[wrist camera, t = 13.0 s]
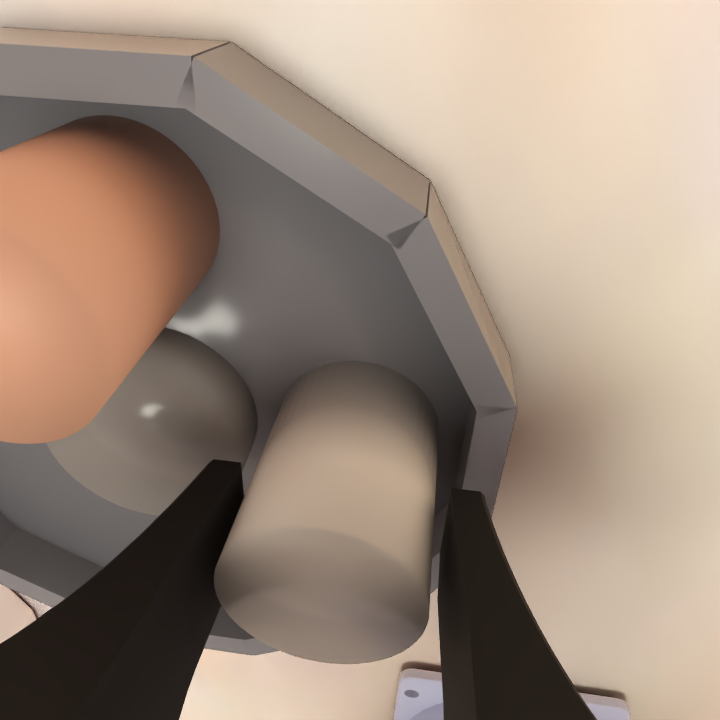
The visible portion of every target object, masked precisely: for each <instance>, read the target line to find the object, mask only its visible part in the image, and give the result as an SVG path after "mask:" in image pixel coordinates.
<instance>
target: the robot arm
mask: <svg viewBox="0 0 720 720" xmlns="http://www.w3.org/2000/svg"><path fill="white" fill-rule="evenodd" d="M243 499H244V490H243V479H242V468H241V462H233V461H225V460H217V459H213V460H212V461H210V462H209V463H208V464H207V465H206V466H205V468H204V469H203V470H202V471H201V472H200V473H199V474H198V475H197V476H196V478H195V479H194V480H193V481H192V482H191V483H190V484H189V485H188V486H187V487H186V488H185V490H184V491H183V492H182V493H181V494H180V495H179V496H178V497H177V498H176V499H175V500H174V501H173V502H172V503H171V504H170V505H169V506H168V507H167V508H166V509H165V510H164V511H163V512H162V513H161V514H160V515H159V516H158V517H157V518H156V519H155V520H154V521H153V522H152V523H151V524H150V525H149V526H148V527H147V528H146V529H145V530H144V531H143V532H142V533H141V534H140V535H139V536H138V537H137V538H136V539H135V540H134V541H133V542H131V543H130V544H129V545H128V546H127V547H126V548H125V549H124V550H123V551H122V552H120V553H119V554H118V555H117V556H116V557H115V558H114V559H113V560H112V561H111V562H109V563H108V564H107V565H106V566H105V567H104V568H102V569H101V570H100V571H99V572H98V573H96V574H95V575H94V576H93V577H92V578H90V579H89V580H88V581H87V582H86V583H84V584H83V585H82V586H80V587H79V588H78V589H77V590H75V591H74V592H73V593H72V594H70V595H69V596H68V597H66V598H65V599H64V600H62V601H61V602H60V603H58V604H57V605H56V606H54V607H53V608H51V609H50V610H49V611H47V612H46V613H45V614H43V615H42V616H40V617H39V618H38V619H36V620H35V621H34V622H32V623H31V624H29V625H28V626H26V627H25V628H23V629H22V630H20V631H19V632H17V633H16V634H14V635H13V636H11V637H10V638H8V639H7V640H5V641H4V642H2V643H0V720H179V717H180V714H181V711H182V707H183V704H184V701H185V698H186V694H187V691H188V688H189V685H190V683H191V680H192V677H193V674H194V672H195V669H196V666H197V664H198V661H199V659H200V657H201V654H202V652H203V649H204V647H205V644H206V642H207V639H208V637H209V634H210V632H211V629H212V627H213V625H214V622H215V620H216V617H217V615H218V612H219V610H220V607H221V604H220V601H219V599H218V597H217V595H216V591H215V587H214V573H215V568H216V565H217V563H218V560H219V558H220V555H221V553H222V550H223V548H224V545H225V543H226V541H227V538H228V536H229V533H230V531H231V528H232V526H233V523H234V521H235V518H236V516H237V513H238V511H239V509H240V506H241V504H242V501H243ZM438 616H439V636H440V654H441V672H442V673H441V672H435V671H428V670H421V669H412V668H409V669H405V670H403V671H402V672H401V673H400V675H399V682H398V689H397V696H396V703H395V710H394V717H393V720H629V719H630V716H631V713H630V709H629V705H628V704H627V702H625V701H624V700H622V699H618V698H613V697H606V696H599V695H592V694H585V693H579V692H578V691H577V689H576V688H575V686H574V685H573V683H572V682H571V680H570V679H569V677H568V675H567V674H566V672H565V671H564V669H563V667H562V666H561V664H560V662H559V661H558V659H557V657H556V656H555V654H554V652H553V651H552V649H551V647H550V645H549V644H548V642H547V640H546V638H545V637H544V635H543V633H542V631H541V629H540V627H539V626H538V624H537V622H536V620H535V618H534V616H533V614H532V612H531V610H530V608H529V606H528V604H527V602H526V600H525V598H524V596H523V594H522V592H521V590H520V588H519V586H518V583H517V581H516V579H515V577H514V575H513V572H512V570H511V568H510V566H509V563H508V561H507V559H506V556H505V554H504V552H503V549H502V547H501V544H500V541H499V539H498V536H497V533H496V531H495V528H494V525H493V522H492V519H491V516H490V513H489V510H488V506H487V503H486V499H485V496H484V495H483V494H482V492H481V491H473V490H465V489H456V488H451V492H450V497H449V503H448V509H447V514H446V520H445V526H444V532H443V537H442V543H441V549H440V560H439V580H438Z"/></svg>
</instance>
